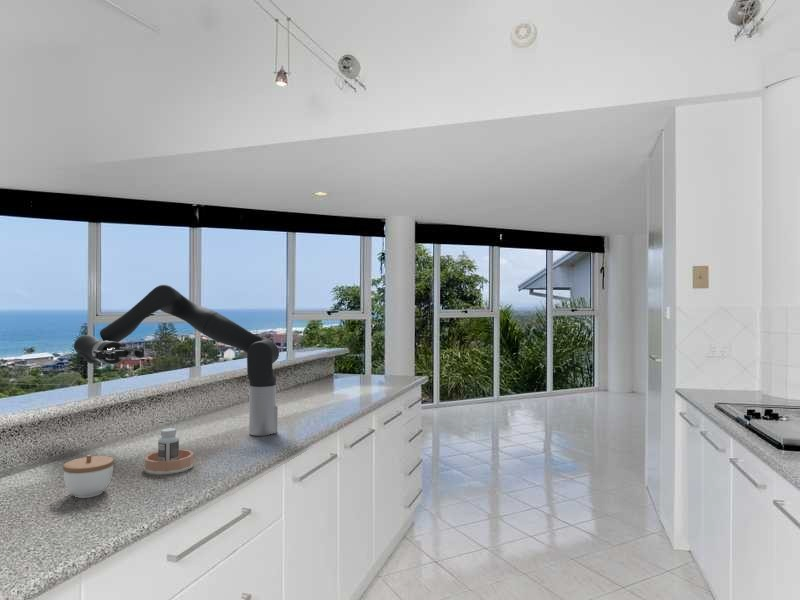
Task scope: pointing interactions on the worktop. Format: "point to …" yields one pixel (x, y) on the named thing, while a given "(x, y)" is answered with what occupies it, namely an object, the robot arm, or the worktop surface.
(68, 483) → the lidded jar
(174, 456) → the pill bottle
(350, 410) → the worktop surface
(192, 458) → the bowl
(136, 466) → the worktop surface
